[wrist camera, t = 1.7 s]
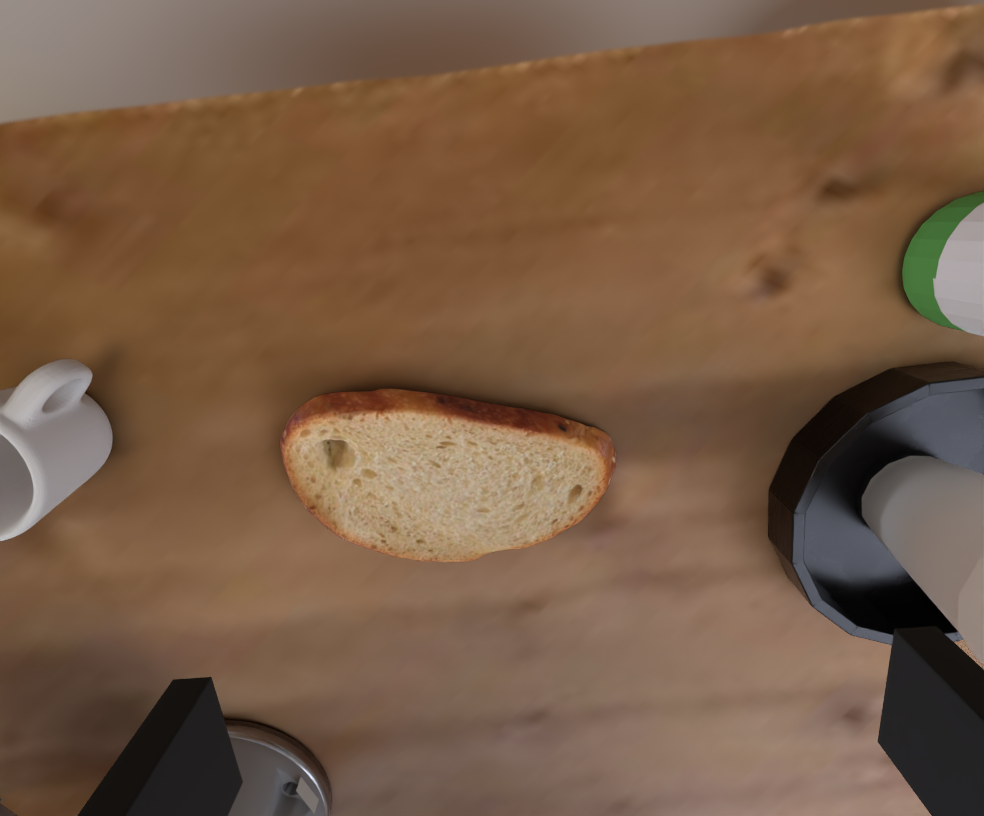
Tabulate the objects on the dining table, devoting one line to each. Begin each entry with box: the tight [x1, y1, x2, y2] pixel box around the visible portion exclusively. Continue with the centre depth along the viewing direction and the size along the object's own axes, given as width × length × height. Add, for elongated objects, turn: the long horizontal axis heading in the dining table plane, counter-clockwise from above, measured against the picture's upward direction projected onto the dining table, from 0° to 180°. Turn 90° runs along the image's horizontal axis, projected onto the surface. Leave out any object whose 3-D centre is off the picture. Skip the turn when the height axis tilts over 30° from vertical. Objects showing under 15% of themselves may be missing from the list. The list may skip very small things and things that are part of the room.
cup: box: [0, 359, 113, 541], centre depth 34 cm, size 11×8×8 cm
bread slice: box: [280, 389, 616, 562], centre depth 37 cm, size 18×18×4 cm
